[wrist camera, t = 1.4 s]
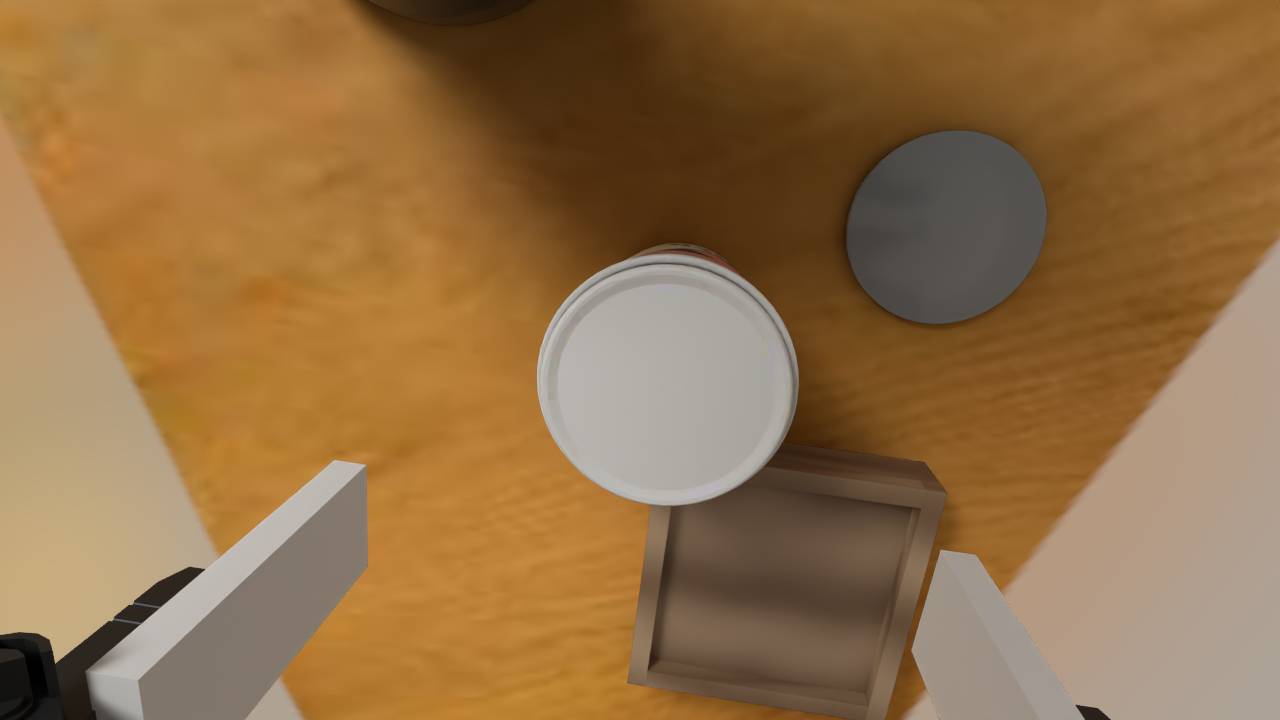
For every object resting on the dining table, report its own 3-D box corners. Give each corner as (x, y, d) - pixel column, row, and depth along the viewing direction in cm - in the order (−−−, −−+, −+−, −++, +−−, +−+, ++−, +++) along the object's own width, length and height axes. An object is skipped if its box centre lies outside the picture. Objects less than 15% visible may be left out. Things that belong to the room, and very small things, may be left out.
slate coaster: (866, 120, 31) (869, 119, 31) (1064, 143, 31) (1071, 142, 30) (829, 308, 34) (831, 310, 33) (1011, 332, 34) (1016, 335, 33)
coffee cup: (807, 304, 34) (860, 376, 23) (690, 436, 37) (684, 560, 25) (662, 186, 33) (641, 198, 22) (552, 330, 36) (481, 409, 24)
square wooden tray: (662, 425, 37) (658, 451, 33) (924, 462, 36) (947, 493, 32) (633, 640, 41) (627, 683, 37) (868, 677, 40) (883, 724, 36)
